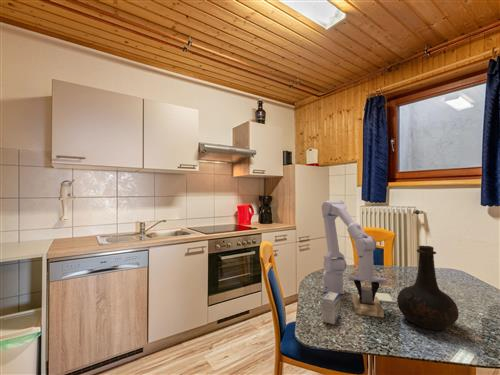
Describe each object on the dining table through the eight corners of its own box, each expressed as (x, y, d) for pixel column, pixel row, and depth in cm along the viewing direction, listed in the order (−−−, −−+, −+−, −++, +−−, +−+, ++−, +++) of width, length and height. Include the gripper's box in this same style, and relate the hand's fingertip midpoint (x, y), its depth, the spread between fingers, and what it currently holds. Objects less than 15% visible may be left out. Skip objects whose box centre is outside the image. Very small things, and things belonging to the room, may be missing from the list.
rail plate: (355, 313, 97) (355, 307, 97) (352, 299, 110) (352, 293, 111) (383, 317, 94) (383, 310, 94) (377, 302, 107) (377, 296, 107)
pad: (370, 300, 110) (370, 299, 110) (367, 292, 118) (367, 291, 118) (393, 303, 107) (393, 301, 107) (388, 295, 115) (388, 293, 115)
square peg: (362, 309, 101) (361, 289, 101) (360, 305, 105) (360, 286, 105) (372, 310, 100) (372, 290, 100) (371, 306, 104) (370, 287, 104)
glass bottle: (387, 312, 98) (385, 241, 99) (430, 311, 99) (428, 241, 100) (422, 338, 80) (419, 251, 81) (473, 336, 81) (470, 250, 82)
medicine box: (334, 325, 89) (334, 300, 89) (322, 321, 91) (322, 298, 91) (339, 316, 95) (339, 293, 96) (327, 313, 98) (327, 291, 98)
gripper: (347, 267, 101) (348, 301, 101) (387, 270, 97) (388, 305, 96) (346, 263, 108) (347, 294, 108) (383, 265, 103) (384, 298, 103)
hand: (366, 299), depth 102 cm, fingers closed on square peg, 4 cm apart
